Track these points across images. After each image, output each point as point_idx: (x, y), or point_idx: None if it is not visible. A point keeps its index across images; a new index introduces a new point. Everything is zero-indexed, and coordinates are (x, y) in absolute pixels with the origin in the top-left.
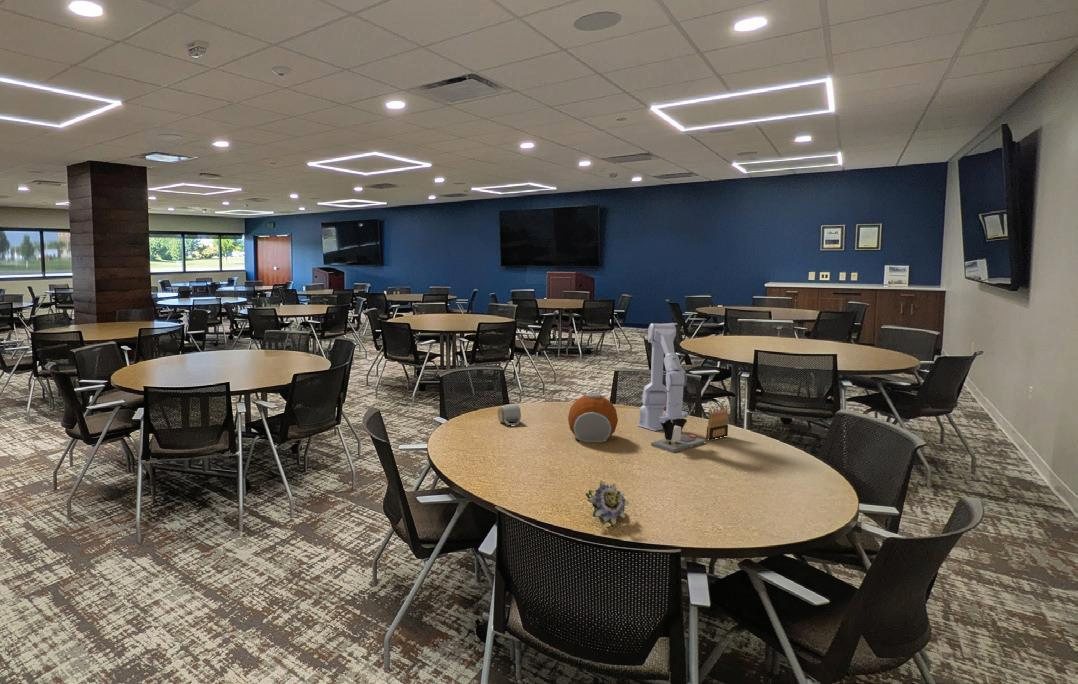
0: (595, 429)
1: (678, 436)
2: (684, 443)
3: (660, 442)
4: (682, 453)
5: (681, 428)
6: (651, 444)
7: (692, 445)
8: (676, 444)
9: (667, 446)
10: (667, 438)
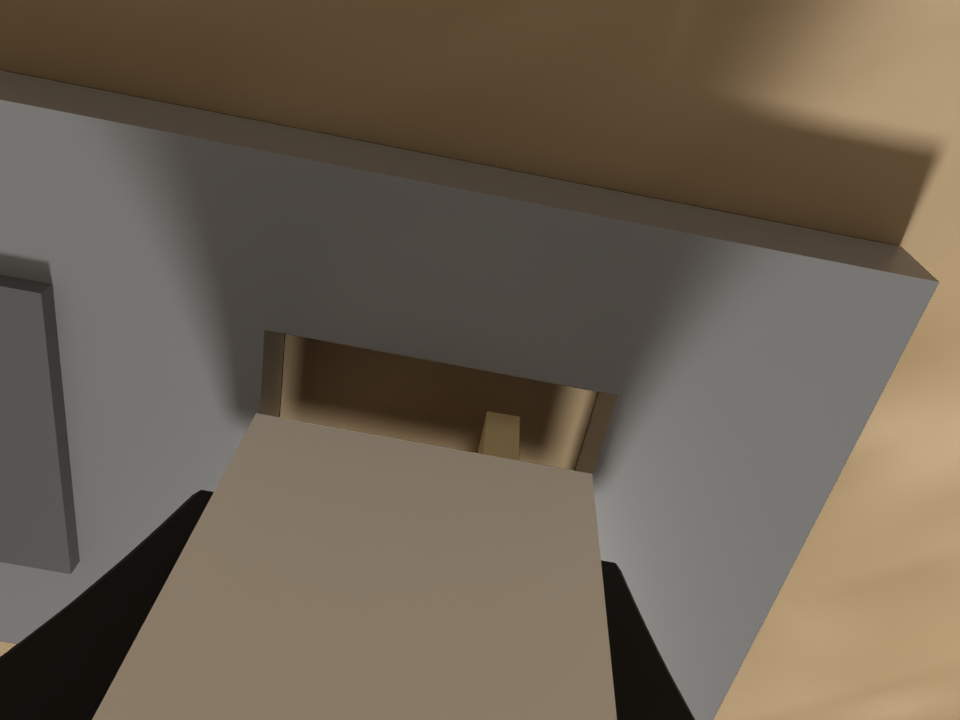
0: None
1: (331, 517)
2: (199, 285)
3: None
4: (810, 29)
5: (35, 715)
6: None
7: (44, 93)
8: None
9: (758, 475)
10: None
